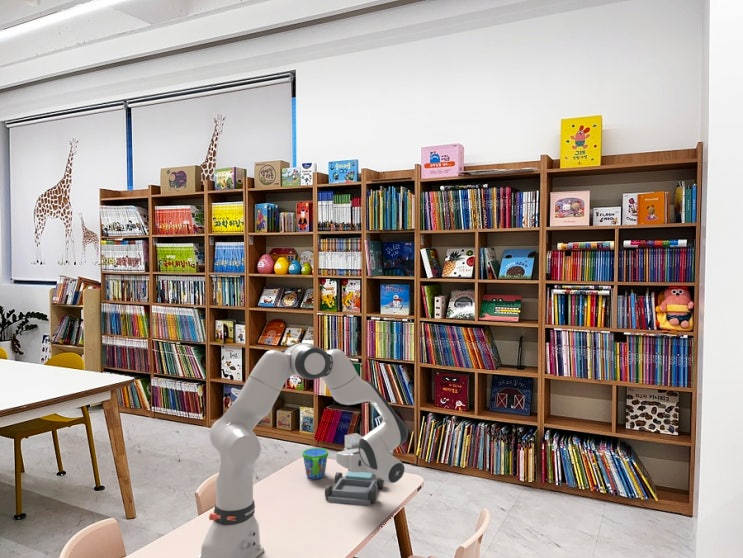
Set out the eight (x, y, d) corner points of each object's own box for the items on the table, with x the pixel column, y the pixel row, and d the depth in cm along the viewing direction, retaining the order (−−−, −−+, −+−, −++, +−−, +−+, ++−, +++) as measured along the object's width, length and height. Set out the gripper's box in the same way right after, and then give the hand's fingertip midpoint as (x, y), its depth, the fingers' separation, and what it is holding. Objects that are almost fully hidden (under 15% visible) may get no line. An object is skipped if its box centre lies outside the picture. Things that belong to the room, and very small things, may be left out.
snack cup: (304, 469, 235) (304, 445, 235) (329, 469, 235) (329, 445, 235) (300, 483, 219) (300, 458, 219) (326, 483, 219) (326, 458, 219)
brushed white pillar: (363, 465, 208) (362, 436, 208) (351, 468, 205) (351, 438, 205) (356, 461, 212) (356, 433, 212) (345, 463, 210) (344, 435, 209)
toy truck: (373, 505, 199) (373, 493, 199) (323, 501, 203) (323, 489, 203) (384, 484, 219) (384, 473, 219) (338, 480, 223) (338, 469, 223)
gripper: (395, 445, 203) (375, 435, 215) (347, 455, 192) (329, 444, 204) (395, 462, 203) (375, 451, 215) (347, 473, 192) (329, 461, 204)
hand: (352, 448), depth 209 cm, fingers closed on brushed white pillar, 5 cm apart
